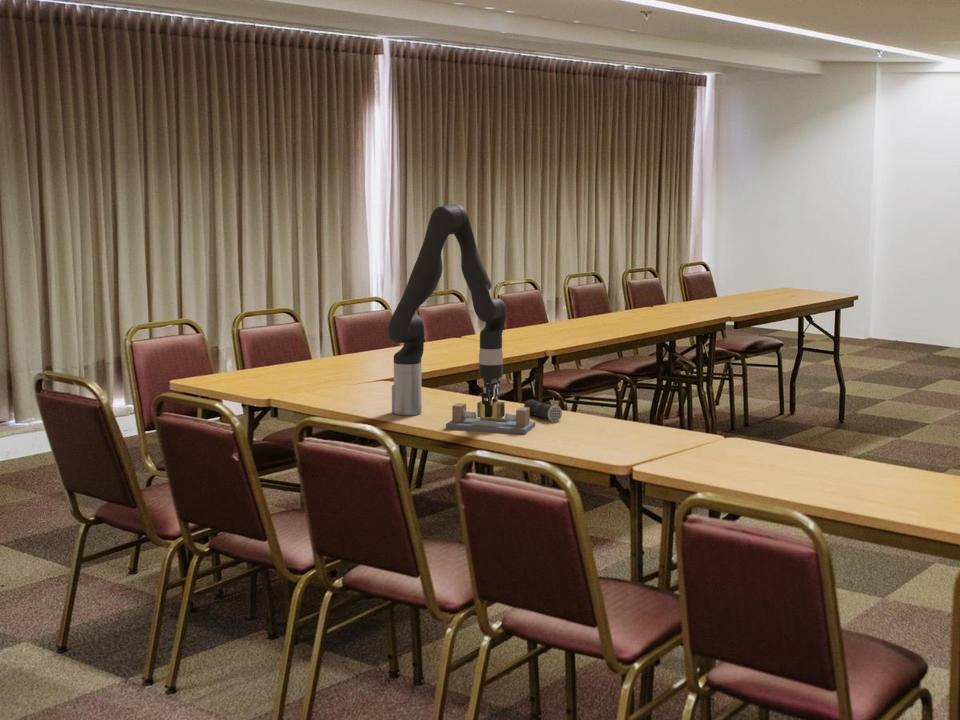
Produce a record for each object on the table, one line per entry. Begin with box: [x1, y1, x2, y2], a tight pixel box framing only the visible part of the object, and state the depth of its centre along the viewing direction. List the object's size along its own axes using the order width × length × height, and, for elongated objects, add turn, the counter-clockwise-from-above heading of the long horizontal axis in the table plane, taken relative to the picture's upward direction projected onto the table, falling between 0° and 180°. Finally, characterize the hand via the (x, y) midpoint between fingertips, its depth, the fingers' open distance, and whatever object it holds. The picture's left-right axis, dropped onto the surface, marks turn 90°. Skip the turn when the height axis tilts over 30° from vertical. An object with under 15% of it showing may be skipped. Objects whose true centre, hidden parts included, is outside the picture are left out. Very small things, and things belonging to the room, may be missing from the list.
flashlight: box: [523, 398, 563, 423], centre depth 382 cm, size 15×5×5 cm, turn 31°
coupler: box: [476, 400, 506, 419], centre depth 365 cm, size 8×4×4 cm, turn 72°
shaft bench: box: [445, 402, 536, 435], centre depth 365 cm, size 26×12×7 cm, turn 73°
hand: (490, 415), depth 365 cm, fingers closed on coupler, 4 cm apart
